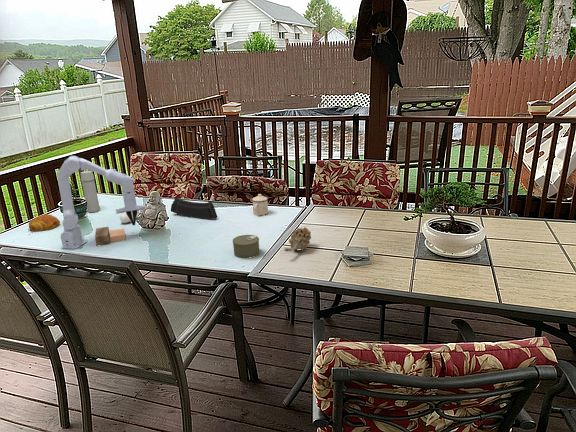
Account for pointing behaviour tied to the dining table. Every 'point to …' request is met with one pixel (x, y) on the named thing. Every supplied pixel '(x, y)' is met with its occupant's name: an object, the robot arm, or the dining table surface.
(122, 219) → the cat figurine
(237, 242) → the can
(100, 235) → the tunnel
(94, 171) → the robot arm
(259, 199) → the teacup with lid
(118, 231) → the peach rectangular prism
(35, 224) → the croissant
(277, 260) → the dining table surface
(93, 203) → the water bottle
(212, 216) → the magazine
